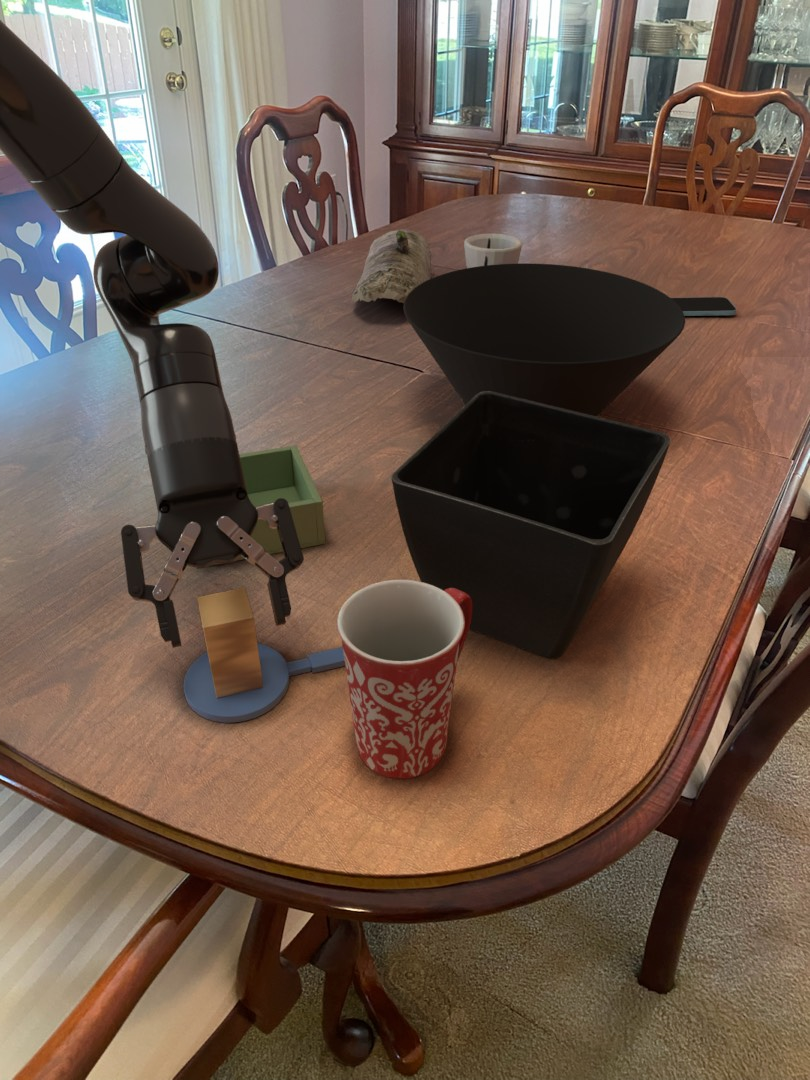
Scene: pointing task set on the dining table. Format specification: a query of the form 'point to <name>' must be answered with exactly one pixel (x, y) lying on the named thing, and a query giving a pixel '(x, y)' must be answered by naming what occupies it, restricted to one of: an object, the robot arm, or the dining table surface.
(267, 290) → the dining table surface
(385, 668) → the mug
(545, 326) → the bowl
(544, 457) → the flower pot
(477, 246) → the mug
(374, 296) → the log
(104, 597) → the dining table surface
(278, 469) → the green storage bin
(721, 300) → the smartphone
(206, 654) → the blue ping pong paddle
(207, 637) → the wooden block
